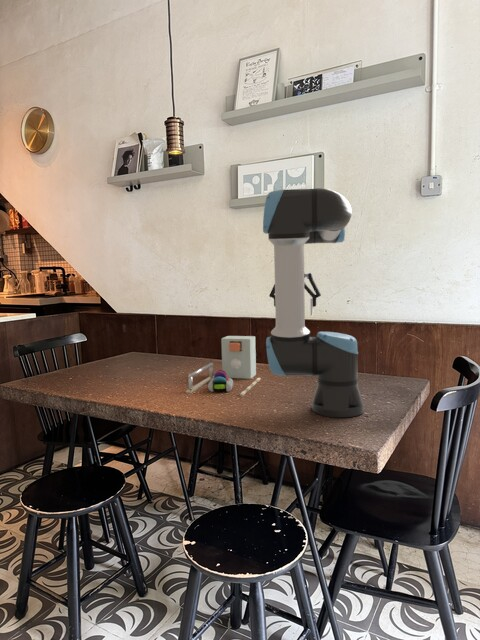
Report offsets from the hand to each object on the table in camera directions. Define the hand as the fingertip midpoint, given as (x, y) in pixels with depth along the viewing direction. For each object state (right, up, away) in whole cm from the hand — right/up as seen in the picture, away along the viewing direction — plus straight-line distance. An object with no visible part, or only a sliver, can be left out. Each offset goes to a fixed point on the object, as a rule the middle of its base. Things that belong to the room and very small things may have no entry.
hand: (295, 315), depth 175 cm
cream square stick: (-18, -27, -13) cm, 35 cm away
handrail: (-36, -27, -7) cm, 46 cm away
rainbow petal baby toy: (-29, -28, -16) cm, 43 cm away
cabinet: (-22, -25, +6) cm, 34 cm away
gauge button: (-24, -14, 0) cm, 28 cm away
